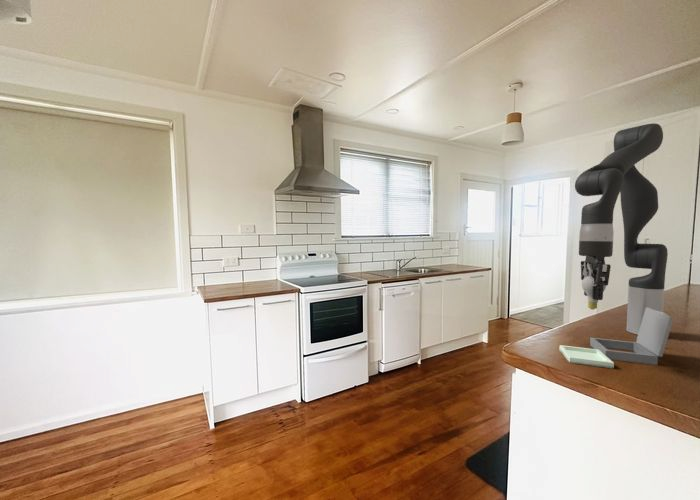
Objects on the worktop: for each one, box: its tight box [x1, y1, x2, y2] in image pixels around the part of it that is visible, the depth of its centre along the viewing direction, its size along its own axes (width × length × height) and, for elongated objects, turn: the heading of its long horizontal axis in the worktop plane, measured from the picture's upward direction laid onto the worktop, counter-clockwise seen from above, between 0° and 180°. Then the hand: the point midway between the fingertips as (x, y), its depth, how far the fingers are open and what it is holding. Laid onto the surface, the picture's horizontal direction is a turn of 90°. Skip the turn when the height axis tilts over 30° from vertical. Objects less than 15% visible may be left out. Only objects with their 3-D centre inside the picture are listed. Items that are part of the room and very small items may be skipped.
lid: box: [635, 307, 675, 358], centre depth 86 cm, size 12×12×1 cm
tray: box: [558, 344, 615, 369], centre depth 86 cm, size 10×10×2 cm
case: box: [589, 337, 659, 366], centre depth 89 cm, size 12×12×2 cm
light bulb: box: [581, 276, 607, 310], centre depth 85 cm, size 5×6×10 cm
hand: (592, 297), depth 85 cm, fingers closed on light bulb, 5 cm apart
